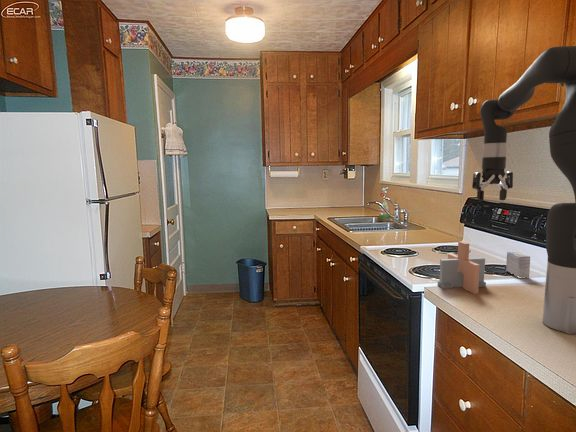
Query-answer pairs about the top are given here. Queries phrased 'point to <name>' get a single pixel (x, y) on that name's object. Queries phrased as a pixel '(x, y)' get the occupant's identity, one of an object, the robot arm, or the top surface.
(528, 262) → the medicine box
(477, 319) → the top surface
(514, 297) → the top surface
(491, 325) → the top surface
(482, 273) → the grey notched panel
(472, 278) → the terracotta plate
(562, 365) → the top surface
